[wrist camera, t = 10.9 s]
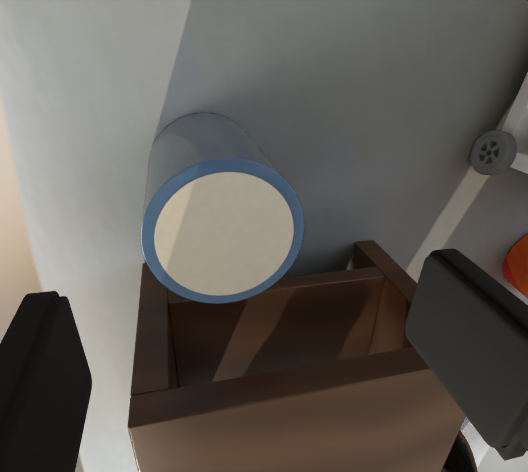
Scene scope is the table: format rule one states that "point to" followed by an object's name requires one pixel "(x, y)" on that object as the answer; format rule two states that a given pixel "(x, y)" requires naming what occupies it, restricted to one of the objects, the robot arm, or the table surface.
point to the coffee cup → (518, 266)
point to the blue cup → (217, 212)
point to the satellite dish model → (505, 141)
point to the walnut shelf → (289, 378)
